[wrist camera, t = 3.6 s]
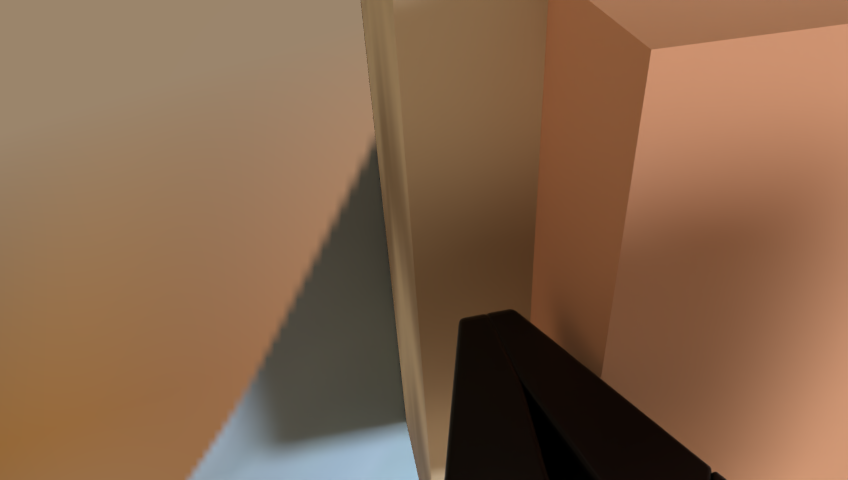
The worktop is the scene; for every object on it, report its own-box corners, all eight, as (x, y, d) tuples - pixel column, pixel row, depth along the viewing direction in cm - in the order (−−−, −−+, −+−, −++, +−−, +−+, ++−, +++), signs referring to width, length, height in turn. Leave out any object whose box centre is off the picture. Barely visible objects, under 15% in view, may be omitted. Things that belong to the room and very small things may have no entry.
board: (717, 361, 19) (807, 483, 16) (406, 422, 18) (438, 566, 15) (953, -415, 10) (1295, -491, 6) (318, -387, 8) (355, -462, 5)
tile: (806, 396, 14) (898, 505, 12) (522, 454, 13) (570, 581, 11) (1015, -84, 8) (1249, -30, 6) (550, -31, 8) (650, 49, 6)
